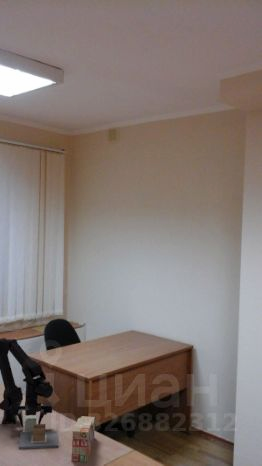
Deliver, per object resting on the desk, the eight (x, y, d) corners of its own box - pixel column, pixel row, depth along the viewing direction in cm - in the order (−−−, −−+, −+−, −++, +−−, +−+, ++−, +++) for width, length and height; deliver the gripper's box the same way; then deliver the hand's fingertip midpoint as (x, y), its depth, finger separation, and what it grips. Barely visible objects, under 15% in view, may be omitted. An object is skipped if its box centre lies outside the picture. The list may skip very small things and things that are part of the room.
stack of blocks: (80, 436, 191) (81, 409, 191) (94, 437, 191) (95, 410, 191) (71, 461, 170) (72, 430, 170) (86, 463, 169) (88, 431, 169)
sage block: (24, 427, 198) (25, 416, 198) (36, 426, 199) (36, 416, 199) (24, 432, 193) (24, 421, 193) (35, 431, 194) (36, 420, 194)
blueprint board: (20, 434, 190) (20, 432, 190) (57, 433, 193) (57, 430, 193) (18, 449, 177) (18, 446, 177) (58, 447, 180) (58, 444, 180)
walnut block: (33, 435, 187) (33, 424, 187) (44, 435, 188) (45, 424, 188) (32, 441, 182) (33, 429, 182) (44, 440, 183) (45, 429, 183)
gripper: (9, 399, 186) (7, 436, 186) (53, 398, 190) (51, 434, 190) (11, 390, 197) (9, 424, 197) (52, 389, 201) (51, 423, 200)
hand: (30, 427), depth 196 cm, fingers open, 7 cm apart
